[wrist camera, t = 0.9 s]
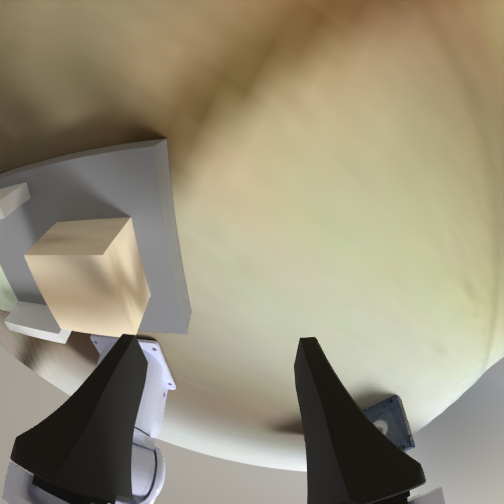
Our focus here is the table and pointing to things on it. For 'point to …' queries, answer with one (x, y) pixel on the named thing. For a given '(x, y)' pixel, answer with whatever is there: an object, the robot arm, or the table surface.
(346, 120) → the table surface
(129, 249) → the birch block
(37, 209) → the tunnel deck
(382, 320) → the table surface
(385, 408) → the vhs cassette tape
